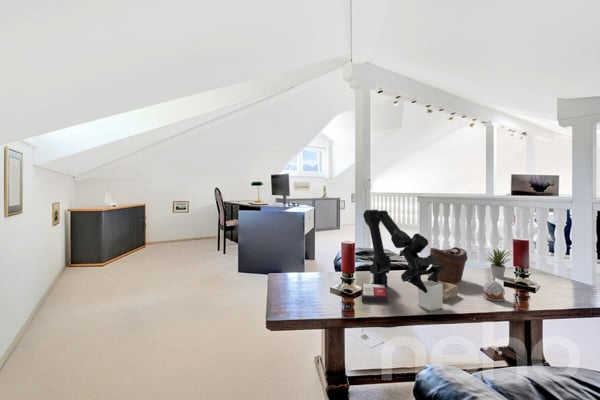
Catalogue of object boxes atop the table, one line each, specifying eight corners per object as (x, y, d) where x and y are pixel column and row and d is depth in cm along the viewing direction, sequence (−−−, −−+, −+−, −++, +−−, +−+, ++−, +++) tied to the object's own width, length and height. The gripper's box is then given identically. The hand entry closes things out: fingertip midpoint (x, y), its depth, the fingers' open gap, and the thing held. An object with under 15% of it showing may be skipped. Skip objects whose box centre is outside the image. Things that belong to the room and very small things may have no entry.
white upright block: (418, 305, 128) (418, 282, 128) (429, 303, 131) (429, 280, 130) (430, 311, 122) (430, 286, 122) (442, 308, 125) (442, 284, 124)
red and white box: (361, 294, 133) (362, 282, 148) (361, 304, 134) (362, 291, 148) (387, 296, 131) (385, 283, 146) (387, 305, 131) (385, 292, 146)
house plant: (522, 279, 163) (523, 249, 162) (501, 281, 160) (501, 250, 159) (500, 272, 176) (500, 244, 176) (479, 274, 174) (479, 246, 173)
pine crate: (419, 294, 142) (419, 285, 141) (431, 289, 149) (431, 279, 149) (445, 301, 132) (445, 291, 132) (457, 295, 140) (457, 285, 140)
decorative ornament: (508, 302, 131) (508, 267, 131) (490, 302, 131) (490, 267, 131) (497, 296, 139) (497, 263, 138) (480, 296, 139) (480, 263, 138)
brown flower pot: (471, 278, 165) (471, 245, 165) (462, 288, 150) (461, 252, 150) (437, 273, 177) (436, 243, 177) (425, 281, 162) (424, 248, 162)
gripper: (405, 250, 126) (426, 284, 116) (439, 246, 133) (461, 278, 123) (393, 265, 133) (411, 298, 123) (425, 260, 140) (445, 291, 131)
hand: (432, 291), depth 125 cm, fingers closed on white upright block, 6 cm apart
